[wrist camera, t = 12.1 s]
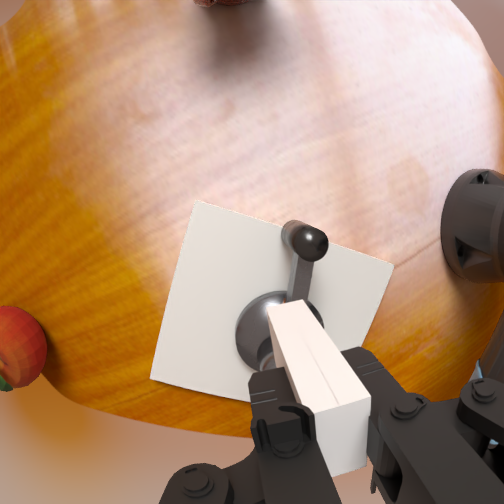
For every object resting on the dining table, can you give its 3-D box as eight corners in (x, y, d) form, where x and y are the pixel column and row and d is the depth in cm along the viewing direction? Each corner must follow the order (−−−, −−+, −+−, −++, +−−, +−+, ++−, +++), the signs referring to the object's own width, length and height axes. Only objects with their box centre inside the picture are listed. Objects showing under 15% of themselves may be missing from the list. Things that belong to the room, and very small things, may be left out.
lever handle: (305, 390, 34) (321, 425, 28) (228, 389, 33) (231, 426, 27) (339, 225, 31) (368, 235, 24) (248, 214, 29) (257, 221, 23)
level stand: (388, 261, 34) (431, 283, 26) (323, 405, 37) (345, 448, 29) (196, 199, 30) (189, 204, 22) (151, 371, 34) (138, 418, 25)
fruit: (16, 279, 30) (-34, 308, 20) (70, 336, 32) (32, 382, 22) (-10, 325, 30) (-52, 359, 20) (38, 376, 32) (5, 420, 23)
